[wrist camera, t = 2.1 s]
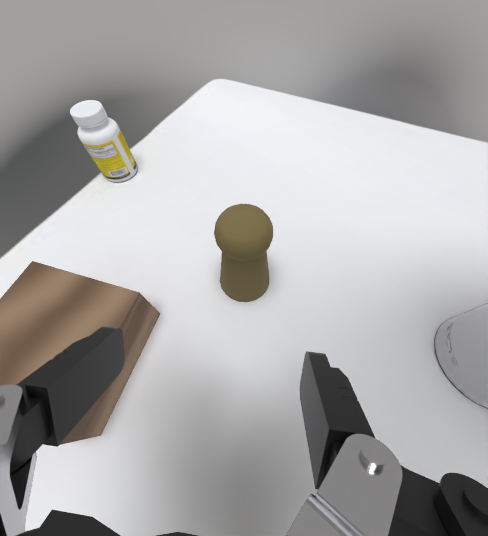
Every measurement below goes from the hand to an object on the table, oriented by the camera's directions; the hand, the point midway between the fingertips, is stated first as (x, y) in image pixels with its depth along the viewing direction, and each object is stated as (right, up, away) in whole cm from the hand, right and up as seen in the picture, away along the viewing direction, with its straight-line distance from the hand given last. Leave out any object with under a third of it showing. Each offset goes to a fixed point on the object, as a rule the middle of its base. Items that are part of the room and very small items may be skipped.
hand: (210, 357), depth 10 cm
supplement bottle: (-19, +19, +29) cm, 40 cm away
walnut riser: (-16, -5, +15) cm, 22 cm away
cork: (+2, +2, +19) cm, 20 cm away
